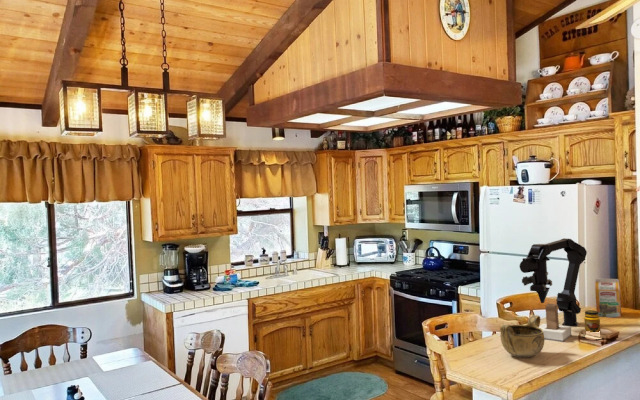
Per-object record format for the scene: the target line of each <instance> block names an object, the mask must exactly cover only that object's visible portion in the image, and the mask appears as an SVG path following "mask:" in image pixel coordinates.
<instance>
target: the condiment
mask: <svg viewBox="0 0 640 400" xmlns="http://www.w3.org/2000/svg"><path fill="white" fill-rule="evenodd" d="M598 316H599V315H598V312H597V310H592V309H591V310H590V309H588V310H585V311H584V317H583V319H584V331H585V330H586V331H590V332H599V331H600V332H601V321H600V317H598Z"/></svg>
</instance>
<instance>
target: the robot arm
mask: <svg viewBox="0 0 640 400" xmlns="http://www.w3.org/2000/svg"><path fill="white" fill-rule="evenodd" d="M562 249H563V251H565V252H566V257H567V261H568V266H567V270H566V276H565V279H564V280H565V281H564V286H563V290H562V291H561V292H558V293H557V294H556V299H555V301H556V304H557V305H558V311H559V312H563V315H562V316H563V323H562V324H561V326H570V327H577V326H578V325H579V322H578V320H577V315H578V314H581V311H582V310H581V309H582V308H581V307H580V306H579V304H578V303H577V297H576V295H575V291H576V286H577V281H578V276H579V272H580V267H581V265H582V263H583V262H584V261H585V260H586V257H587V253H588V252H587V249H586V248H585V247H584V246H582V245H581V244H579V243H577V242H575V241H574V240H573V239H571V238H561V239H558V240H555V241H552V242H547V243H537V244H536V243H534V244H532V245H531V247H530V249H529V251H528V253H527V255H526V257H523V258H522V261H520V263H519V269H520V271H521V273H524V274H528V273H532V275H530V276H527V275H526V276H523V277H522V279H521V283H522V284H523V286H524V287H525V286H528V285H530V284H532V285H530V287H529V290H530V292H536V293H537V296H538V298H539V301H540V303H541V304H544V303H545V300H546V298H547V296H548V293H549V290H550V289H551V288H550V287H551V286H553V281H552V280H551V279H549V278H548V275H549V272H548V267H547V266H548V265H547V262H548V261H550V260H551V259H550V258H549V257H548V256H550V255H551V253H552V252H556V251H559V250H562ZM548 285H549V287H547V286H548Z"/></svg>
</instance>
